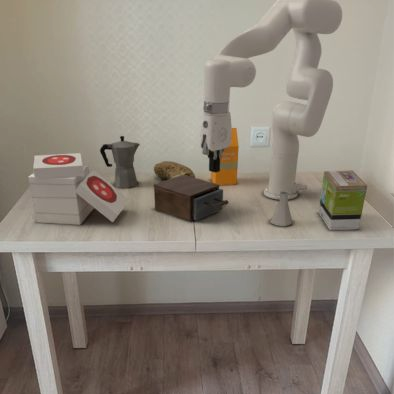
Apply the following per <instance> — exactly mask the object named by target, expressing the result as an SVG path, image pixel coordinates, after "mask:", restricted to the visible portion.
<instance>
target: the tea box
mask: <svg viewBox="0 0 394 394" xmlns="http://www.w3.org/2000/svg"><path fill="white" fill-rule="evenodd" d="M321 184H322V185H321V192H320V198H319V204H318V205H319V206H318V212H317V213H318V214H319V216H320V217H321V220H323V222H324V224H325V225H326V226H327V228H328V230H329V231H351V230H359V229H360V225H361V218H362V214H363V209H364V204H365V200H366V199H365V198H366V194H367V190H368V184H366V182H365V181H363V179H361V177H360V176H359V175H358V174H357V173H356V172H355V171H354V170H327V171H323V178H322V183H321Z"/></svg>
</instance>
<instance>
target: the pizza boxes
mask: <svg viewBox="0 0 394 394" xmlns="http://www.w3.org/2000/svg"><path fill="white" fill-rule="evenodd" d="M33 157H34V160H33V168H32V169H33V173H31V174H29V176H27V179H28V184H29V188H30V194H31V200H32V204H33V209H34V214H35V219H36V223H40V224H41V223H42V224H43V223H44V224H59V225H60V224H61V225H77V226H80V225H82V224H83V222H84V221H85V220H86V219H87V217H88V216H89V215H90V214H91V213H92V211H93V210H94V209H95V210H96V211H98V212H99V213H100V214H101V215H103V216H104V217H105V218H106V219H108V220H109V221H110V222H111V223H114V221H115V220H116V219H117V217H118V216H119V215H120V213H121V212H122V210H123V209H124V208H125V206H127V205H126V204H127V203H128V202H129V201H130V199H129V198H128V197H127V196H126V195H124V193H122V192H121V191H119V190H118V189H117V187H116V186H115V187H114V186H113V184H111V183H110V182H109V181H108V180H106V179H105V178H104V177H103V176H102V175H101V174H99V173H98V172H97V171H96V170H92V171H91V172H90V167H89V164H83V161H82V154H81V152H75V153H58V154H57V153H56V154H55V153H54V154H40V155H38V154H37V155H34V156H33Z"/></svg>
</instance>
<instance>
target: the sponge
mask: <svg viewBox="0 0 394 394" xmlns="http://www.w3.org/2000/svg"><path fill="white" fill-rule="evenodd" d="M153 171H154V172H153V173H154V174H155V175H156V176H157V177H159V178H161V179H164V180H169V179H172V178H175V177H178V176H181V175H187V176H190V177H194V178H196V174H195V173H194V171H193V170H192V169H191V168H190V167H188V166H186V165H184V164H181V163H178V162H175V161H168V160H167V161H166V160H164V161H160V162H158V163H155V165H153Z"/></svg>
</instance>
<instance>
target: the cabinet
mask: <svg viewBox="0 0 394 394" xmlns="http://www.w3.org/2000/svg"><path fill="white" fill-rule="evenodd" d="M214 189H216V190H219V189H220V185H218V184H214V183H213V182H211V181H208V180H203V179H201V178H197V177H195V178H194V177H190V176H187V175H181V176H178V177H175V178H172V179H169V180H167V179H165V180H163V181H160V182H157V183H153V195H154V210H155V211H158V212H161V213H164V214H166V215H169V216H173V217H176V218H178V219H181V220H183V221H186V222H189V223H192V222H193V221H194V222H195V220H194V216H193V217H192V198H193V197H195V196H198V195H201V194H203V193H206V192H209V191H211V190H214Z"/></svg>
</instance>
